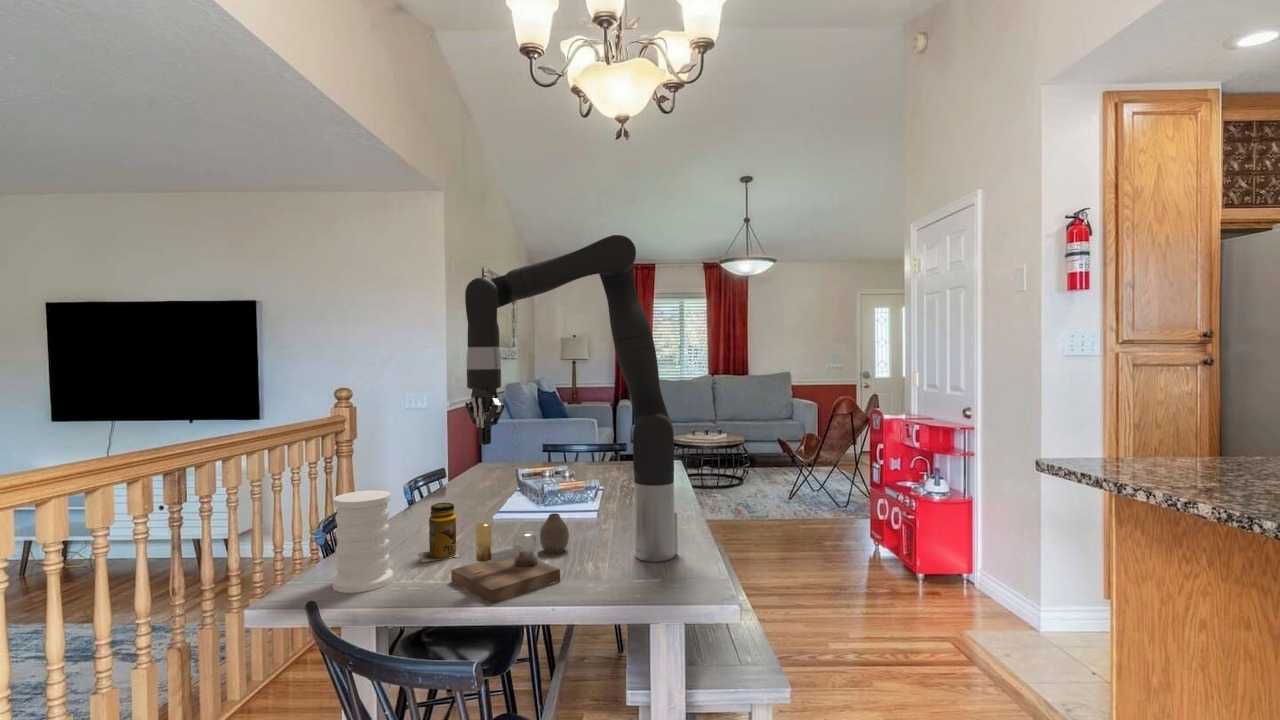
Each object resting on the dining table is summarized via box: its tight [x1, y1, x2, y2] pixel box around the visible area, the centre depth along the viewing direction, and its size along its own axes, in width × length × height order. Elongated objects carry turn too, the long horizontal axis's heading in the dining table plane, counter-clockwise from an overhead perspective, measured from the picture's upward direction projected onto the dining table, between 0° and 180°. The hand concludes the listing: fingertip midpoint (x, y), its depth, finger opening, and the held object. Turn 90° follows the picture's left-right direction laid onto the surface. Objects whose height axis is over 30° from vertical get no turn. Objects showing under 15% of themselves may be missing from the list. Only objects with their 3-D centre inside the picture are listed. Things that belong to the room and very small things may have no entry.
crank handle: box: [475, 521, 539, 566], centre depth 126 cm, size 14×5×10 cm, turn 135°
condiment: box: [418, 502, 461, 563], centre depth 143 cm, size 7×8×12 cm
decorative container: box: [332, 489, 395, 594], centre depth 126 cm, size 12×12×18 cm
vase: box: [539, 512, 570, 554], centre depth 145 cm, size 7×7×9 cm
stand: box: [450, 558, 561, 604], centre depth 126 cm, size 16×16×3 cm
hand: (484, 444), depth 137 cm, fingers closed
